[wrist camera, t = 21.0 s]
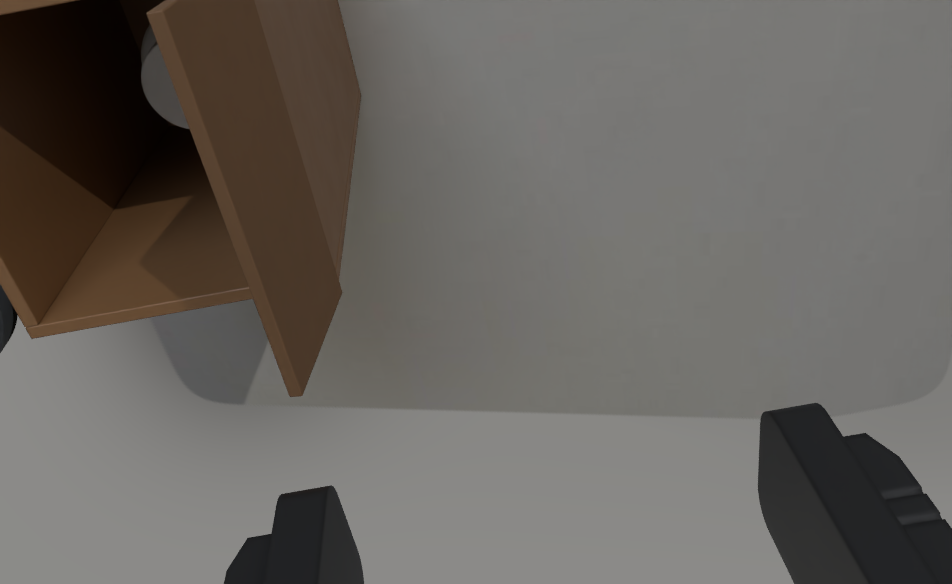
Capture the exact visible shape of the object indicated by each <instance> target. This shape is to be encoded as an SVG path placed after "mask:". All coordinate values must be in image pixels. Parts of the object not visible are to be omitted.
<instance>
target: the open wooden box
mask: <svg viewBox="0 0 952 584" xmlns="http://www.w3.org/2000/svg"><path fill="white" fill-rule="evenodd" d="M164 1H165V0H0V284H1V286H2V288H3V290H4V291H5V293H6V295H7V297H8V298H9V300H10V302H11V304H12V305H13V307H14V309H15V311H16V312H17V314H18V316H19V318H20V319H21V321H22V323H23V325H24V326H25V327H26V330H27V332H28V333H29V335H30V337H31V338H32V339H33V338H39V337H44V336H50V335H55V334H61V333H66V332H72V331H77V330H83V329H88V328H94V327H99V326H105V325H111V324H116V323H121V322H127V321H132V320H138V319H143V318H149V317H155V316H160V315H166V314H171V313H177V312H182V311H188V310H193V309H199V308H204V307H210V306H215V305H221V304H226V303H232V302H237V301H243V300H248V299H253V297H252V294H251V292H250V289H249V286H248V284H247V281H246V278H245V276H244V273H243V270H242V268H241V265H240V262H239V260H238V257H237V254H236V252H235V249H234V246H233V244H232V241H231V238H230V236H229V233H228V230H227V228H226V225H225V222H224V220H223V217H222V214H221V212H220V209H219V206H218V204H217V201H216V198H215V196H214V193H213V190H212V188H211V185H210V182H209V180H208V177H207V174H206V172H205V169H204V166H203V164H202V161H201V158H200V156H199V153H198V150H197V148H196V145H195V142H194V140H193V137H192V134H191V132H190V129H186V128H182V127H179V126H176V125H174V124H172V123H170V122H169V121H167V120H166V119H164V118H163V117H162V116H160V115H159V114H158V113H157V112H156V111H155V110H154V108H153V107H152V106H151V105H150V103H149V102H148V100H147V98H146V96H145V94H144V91H143V87H142V83H141V69H142V62H141V46H142V41H143V37H144V35H145V32H146V30H147V28H148V27H149V25H150V22H149V19H148V17H147V12H148V11H150V10H151V9H153V8H154V7H156V6H158V5H159V4H161V3H162V2H164ZM254 1H255V4H256V8H257V11H258V14H259V18H260V21H261V24H262V28H263V31H264V34H265V38H266V41H267V44H268V48H269V51H270V54H271V57H272V61H273V64H274V67H275V71H276V74H277V77H278V81H279V84H280V87H281V91H282V94H283V97H284V101H285V104H286V107H287V111H288V114H289V117H290V120H291V124H292V127H293V130H294V134H295V137H296V140H297V144H298V147H299V150H300V154H301V157H302V160H303V164H304V167H305V170H306V174H307V177H308V180H309V183H310V187H311V190H312V193H313V197H314V200H315V203H316V207H317V210H318V213H319V217H320V220H321V223H322V227H323V230H324V233H325V237H326V240H327V243H328V246H329V250H330V253H331V256H332V260H333V263H334V266H335V270H336V273H337V276H338V280H339V276H340V268H341V260H342V251H343V243H344V235H345V226H346V218H347V210H348V202H349V193H350V185H351V177H352V168H353V160H354V152H355V143H356V135H357V127H358V118H359V110H360V102H361V93H360V89H359V85H358V81H357V77H356V73H355V69H354V65H353V60H352V56H351V52H350V48H349V44H348V40H347V36H346V32H345V28H344V24H343V20H342V16H341V12H340V8H339V4H338V0H254Z"/></svg>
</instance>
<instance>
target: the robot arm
mask: <svg viewBox="0 0 952 584" xmlns="http://www.w3.org/2000/svg"><path fill="white" fill-rule="evenodd" d="M758 493H759V500H760V505H761V509H762V513H763V517H764V520H765V522H766V525H767V528H768V530H769V532H770V534H771V536H772V538H773V540H774V543H775V545H776V547H777V549H778V551H779V553H780V555H781V557H782V559H783V561H784V563H785V565H786V567H787V569H788V571H789V573H790V575H791V578H792V580H793V582H794V584H952V528H951V527H950V526H949V524H948V523H947V522H946V520H945V519H943V520H942V518H941V516H940V512H939V511H938V509H937V508H936V506H935V505H934V504H933V502H932V501H931V500H930V498H929V497H928V495H927V494H923V492H922V487H921V486H920V484H919V483H918V482H917V480H916V479H915V478H914V476H913V475H912V474H911V472H910V471H909V469H908V468H907V467H906V465H905V464H904V463H903V461H902V460H901V458H900V457H899V456H897V455H896V454H895V453H893V452H892V451H890V450H889V449H887V448H886V447H885V446H883V445H882V444H880V443H879V442H877V441H876V440H874V439H873V438H872V437H870V436H869V435H867V434H866V433H863V434H857V435H851V436H845V437H843V436H842V434H841V433H840V431H839V430H838V428H837V427H836V425H835V424H834V422H833V421H832V419H831V418H830V416H829V415H828V413H827V412H826V410H825V409H824V408H823V407H822V406H821V405H820V404H818V403H812V404H807V405H801V406H795V407H789V408H784V409H778V410H772V411H766V412H764V413H763V414H762V416H761V423H760V447H759V472H758ZM224 584H364V578H363V571H362V565H361V560H360V556H359V553H358V550H357V547H356V544H355V542H354V539H353V536H352V533H351V530H350V528H349V525H348V522H347V519H346V516H345V514H344V511H343V508H342V505H341V503H340V500H339V497H338V495H337V492H336V490H335V488H334V487H333V486H326V487H320V488H314V489H308V490H303V491H297V492H291V493H285V494H281V495H280V496H279V498H278V501H277V505H276V511H275V517H274V523H273V528H272V534H268V535H263V536H256V537H251V538H247V540H246V542H245V543H244V545H243V546H242V548H241V549H240V551H239V552H238V554H237V556H236V557H235V559H234V560H233V562H232V563H231V565H230V567H229V568H228V570H227V572H226V577H225V581H224Z"/></svg>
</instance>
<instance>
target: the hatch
mask: <svg viewBox="0 0 952 584" xmlns="http://www.w3.org/2000/svg"><path fill="white" fill-rule="evenodd" d="M147 17H148V19H149V22H150V25H151V27H152V30H153V33H154V35H155V38H156V41H157V43H158V46H159V49H160V51H161V54H162V57H163V60H164V62H165V65H166V68H167V70H168V73H169V76H170V78H171V81H172V84H173V86H174V89H175V92H176V94H177V97H178V100H179V102H180V105H181V108H182V110H183V113H184V116H185V118H186V121H187V124H188V126H189V129H190V132H191V134H192V137H193V140H194V142H195V145H196V148H197V150H198V153H199V156H200V158H201V161H202V164H203V166H204V169H205V172H206V174H207V177H208V180H209V182H210V185H211V188H212V190H213V193H214V196H215V198H216V201H217V204H218V206H219V209H220V212H221V214H222V217H223V220H224V222H225V225H226V228H227V230H228V233H229V236H230V238H231V241H232V244H233V246H234V249H235V252H236V254H237V257H238V260H239V262H240V265H241V268H242V270H243V273H244V276H245V278H246V281H247V284H248V286H249V289H250V292H251V294H252V297H253V300H254V302H255V305H256V308H257V310H258V313H259V316H260V318H261V321H262V324H263V326H264V329H265V332H266V334H267V337H268V340H269V342H270V345H271V348H272V350H273V353H274V356H275V359H276V361H277V364H278V367H279V369H280V372H281V375H282V377H283V380H284V383H285V385H286V388H287V391H288V393H289V396H290V397H296V396H302V395H303V393H304V390H305V388H306V385H307V382H308V380H309V377H310V375H311V372H312V370H313V367H314V364H315V362H316V359H317V357H318V354H319V351H320V349H321V346H322V344H323V341H324V338H325V336H326V333H327V331H328V328H329V326H330V323H331V320H332V318H333V315H334V313H335V310H336V307H337V305H338V302H339V300H340V297H341V294H342V290H341V286H340V283H339V280H338V276H337V273H336V270H335V266H334V263H333V260H332V256H331V253H330V250H329V246H328V243H327V240H326V237H325V233H324V230H323V227H322V223H321V220H320V217H319V213H318V210H317V207H316V203H315V200H314V197H313V193H312V190H311V187H310V183H309V180H308V177H307V174H306V170H305V167H304V164H303V160H302V157H301V154H300V150H299V147H298V144H297V140H296V137H295V134H294V130H293V127H292V124H291V120H290V117H289V114H288V111H287V107H286V104H285V101H284V97H283V94H282V91H281V87H280V84H279V81H278V77H277V74H276V71H275V67H274V64H273V61H272V57H271V54H270V51H269V48H268V44H267V41H266V38H265V34H264V31H263V28H262V24H261V21H260V18H259V14H258V11H257V8H256V4H255V1H254V0H165V1H164V2H162V3H161V4H159V5H158V6H156V7H154V8H153V9H151V10H150V11H148V12H147Z"/></svg>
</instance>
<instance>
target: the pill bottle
mask: <svg viewBox="0 0 952 584" xmlns="http://www.w3.org/2000/svg"><path fill="white" fill-rule="evenodd" d="M141 62H142V69H141V83H142V87H143V91H144V94H145V96H146V98H147V100H148V102H149V103H150V105H151V106H152V107H153V108H154V110H155V111H156V112H157V113H158V114H159V115H160V116H162V117H163V118H164V119H166V120H167V121H169V122H170V123H172V124H174V125H176V126H179V127H182V128H186V129H189V126H188V124H187V121H186V118H185V116H184V113H183V110H182V108H181V105H180V102H179V100H178V97H177V94H176V92H175V89H174V86H173V84H172V81H171V78H170V76H169V73H168V70H167V68H166V65H165V62H164V60H163V57H162V54H161V51H160V49H159V46H158V43H157V41H156V38H155V35H154V33H153V30H152V27H151V25H149V27H148V28H147V30H146V32H145V35H144V37H143V41H142V46H141Z"/></svg>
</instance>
